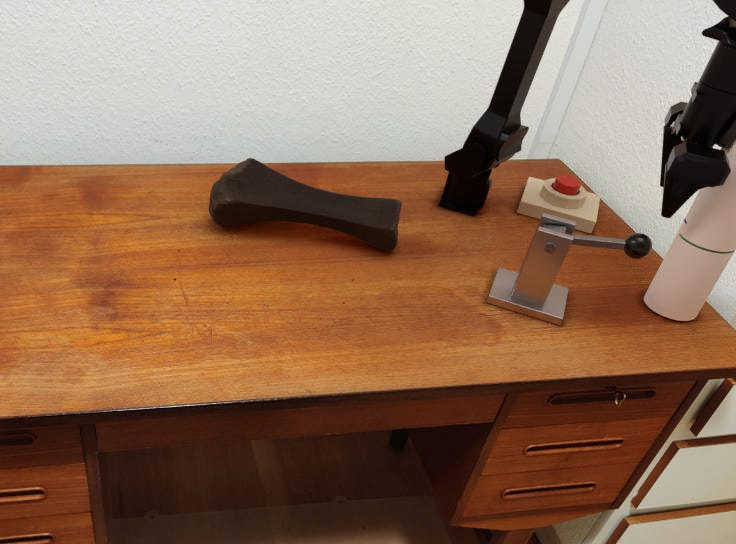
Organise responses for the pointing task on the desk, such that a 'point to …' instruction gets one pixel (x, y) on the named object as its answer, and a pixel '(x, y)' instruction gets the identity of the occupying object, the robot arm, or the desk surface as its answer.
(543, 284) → the bracket
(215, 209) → the dark brown bone
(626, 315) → the desk surface
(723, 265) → the cylindrical container
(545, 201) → the button box
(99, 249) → the desk surface
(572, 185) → the button
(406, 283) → the desk surface
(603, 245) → the lever
